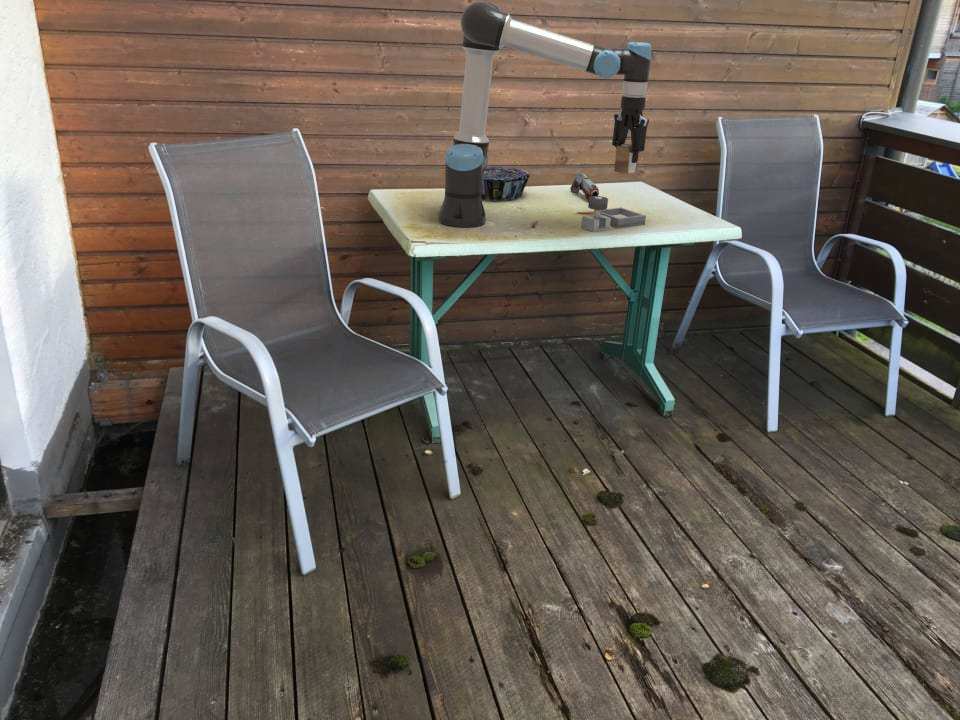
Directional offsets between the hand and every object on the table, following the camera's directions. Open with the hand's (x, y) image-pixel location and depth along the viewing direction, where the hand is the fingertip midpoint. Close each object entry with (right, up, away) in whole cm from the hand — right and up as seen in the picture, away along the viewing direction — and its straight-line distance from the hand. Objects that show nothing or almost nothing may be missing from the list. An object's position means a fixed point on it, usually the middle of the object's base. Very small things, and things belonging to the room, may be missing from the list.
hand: (625, 171), depth 250 cm
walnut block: (0, 0, 0) cm, 0 cm away
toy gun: (-8, -1, +39) cm, 40 cm away
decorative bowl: (-43, 0, +36) cm, 56 cm away
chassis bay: (-1, -15, +7) cm, 17 cm away
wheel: (-10, -16, -3) cm, 19 cm away
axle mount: (-10, -19, -2) cm, 21 cm away
